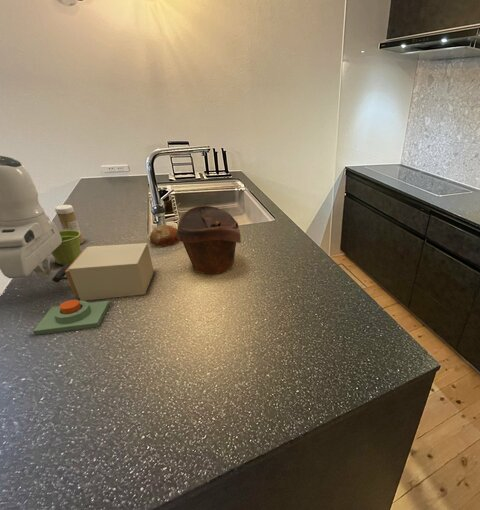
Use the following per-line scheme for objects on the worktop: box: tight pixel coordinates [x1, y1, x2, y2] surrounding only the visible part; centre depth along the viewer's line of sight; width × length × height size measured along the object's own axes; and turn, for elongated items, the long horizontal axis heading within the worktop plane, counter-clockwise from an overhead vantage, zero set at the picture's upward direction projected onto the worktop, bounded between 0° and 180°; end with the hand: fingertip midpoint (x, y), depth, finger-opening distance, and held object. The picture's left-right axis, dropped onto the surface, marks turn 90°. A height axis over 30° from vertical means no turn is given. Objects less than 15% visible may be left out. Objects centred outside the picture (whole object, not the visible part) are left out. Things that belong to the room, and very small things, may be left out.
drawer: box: [51, 250, 84, 298], centre depth 84 cm, size 18×12×8 cm, turn 109°
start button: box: [59, 299, 81, 314], centre depth 72 cm, size 4×4×2 cm
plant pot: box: [51, 229, 82, 266], centre depth 95 cm, size 9×9×9 cm
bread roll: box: [149, 224, 180, 247], centre depth 113 cm, size 10×10×8 cm
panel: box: [32, 299, 111, 336], centre depth 73 cm, size 12×9×3 cm
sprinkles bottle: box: [54, 204, 85, 245], centre depth 104 cm, size 5×5×14 cm
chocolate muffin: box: [176, 205, 242, 275], centre depth 97 cm, size 18×20×18 cm
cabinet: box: [69, 242, 155, 302], centre depth 85 cm, size 15×13×10 cm
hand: (44, 274), depth 80 cm, fingers closed
